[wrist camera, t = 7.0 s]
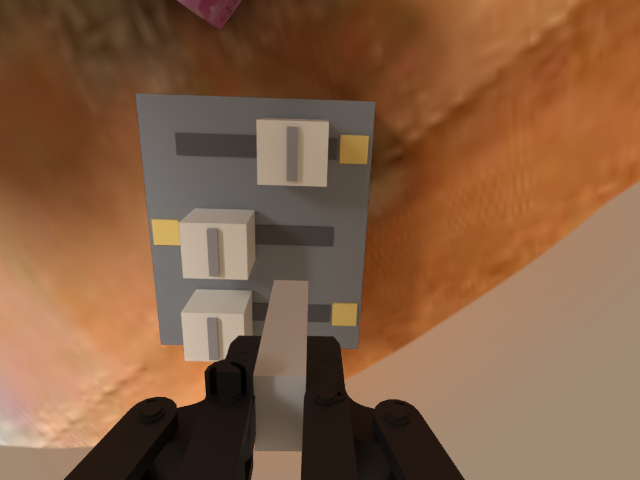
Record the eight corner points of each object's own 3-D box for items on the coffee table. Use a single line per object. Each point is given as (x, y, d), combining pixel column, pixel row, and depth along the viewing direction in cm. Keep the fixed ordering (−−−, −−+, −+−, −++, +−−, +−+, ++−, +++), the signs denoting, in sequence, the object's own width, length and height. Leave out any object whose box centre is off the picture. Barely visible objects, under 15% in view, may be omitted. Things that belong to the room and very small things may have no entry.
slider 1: (198, 258, 29) (181, 280, 25) (195, 208, 28) (177, 223, 24) (255, 259, 29) (246, 281, 25) (254, 209, 28) (245, 225, 24)
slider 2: (199, 333, 31) (183, 363, 27) (196, 289, 29) (179, 314, 26) (252, 334, 31) (244, 364, 27) (251, 290, 30) (243, 316, 26)
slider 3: (264, 174, 27) (256, 185, 23) (264, 117, 26) (255, 119, 22) (325, 176, 27) (326, 187, 23) (327, 119, 26) (329, 122, 22)
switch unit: (181, 312, 36) (160, 346, 31) (163, 94, 30) (133, 93, 25) (352, 316, 36) (358, 350, 31) (366, 101, 30) (376, 101, 26)
